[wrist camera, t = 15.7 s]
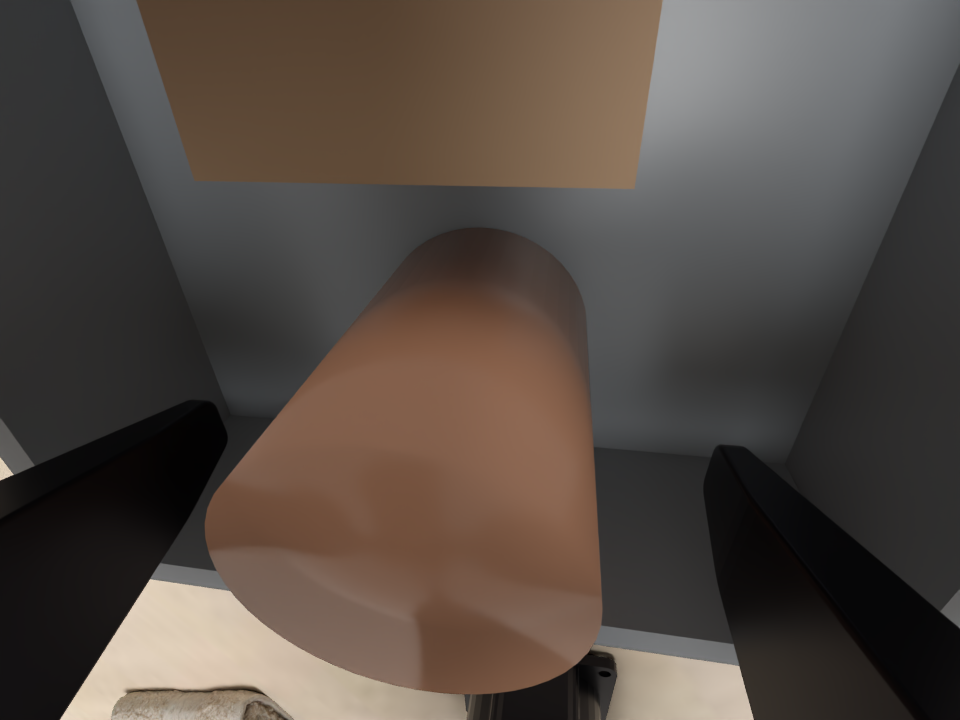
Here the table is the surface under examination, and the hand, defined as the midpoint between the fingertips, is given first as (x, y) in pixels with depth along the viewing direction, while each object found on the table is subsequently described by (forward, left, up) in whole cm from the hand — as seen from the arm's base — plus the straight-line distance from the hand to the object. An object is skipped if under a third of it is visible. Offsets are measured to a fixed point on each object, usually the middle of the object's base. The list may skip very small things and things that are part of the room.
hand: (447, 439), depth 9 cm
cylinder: (0, 0, -4) cm, 4 cm away
